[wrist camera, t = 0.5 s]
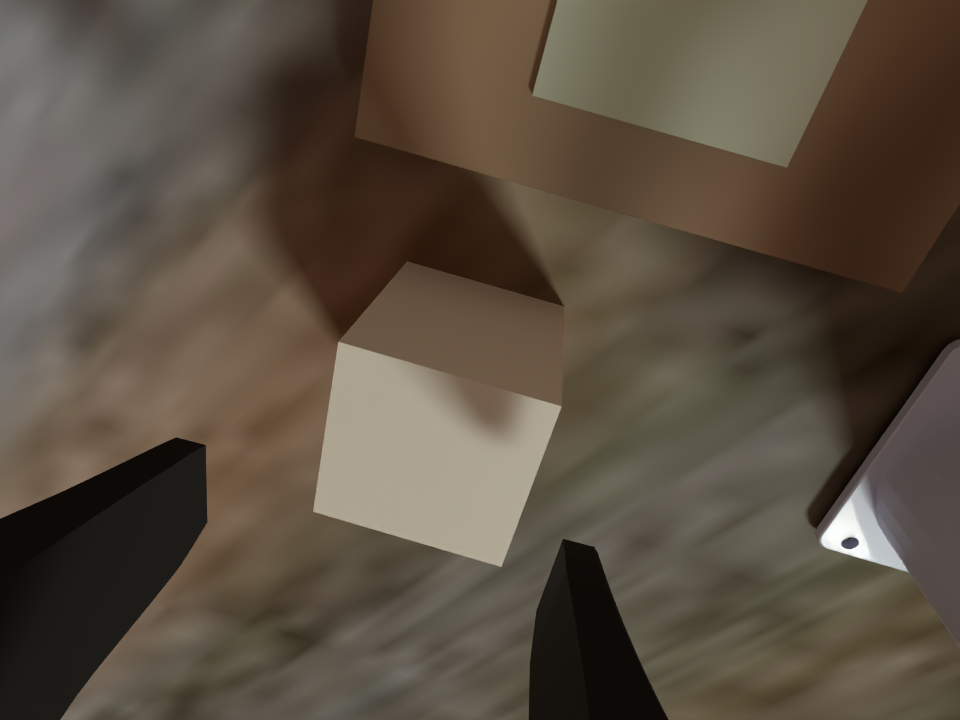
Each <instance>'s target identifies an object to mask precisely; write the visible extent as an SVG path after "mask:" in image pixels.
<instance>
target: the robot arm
mask: <svg viewBox="0 0 960 720" xmlns="http://www.w3.org/2000/svg"><path fill="white" fill-rule="evenodd" d="M206 523H207V487H206V445H203V444H199V443H195V442H192V441H188V440H184V439H180V438H174V439H172V440H169V441H167V442H165V443H163V444H161V445H159V446H156V447H154V448H152V449H150V450H148V451H146V452H144V453H142V454H140V455H138V456H136V457H134V458H132V459H130V460H128V461H126V462H123V463H121V464H119V465H117V466H115V467H113V468H111V469H109V470H107V471H105V472H103V473H101V474H99V475H97V476H94V477H92V478H90V479H88V480H86V481H84V482H82V483H80V484H78V485H75V486H73V487H71V488H69V489H67V490H65V491H63V492H61V493H58V494H56V495H54V496H52V497H49V498H47V499H45V500H42V501H40V502H38V503H35V504H33V505H31V506H29V507H26V508H24V509H22V510H19V511H17V512H15V513H12V514H10V515H8V516H5V517H3V518H1V519H0V720H60V719H61V718H62V716H63V715H64V713H65V712H66V710H67V709H68V707H69V706H70V704H71V703H72V702H73V700H74V699H75V697H76V696H77V694H78V693H79V692H80V691H81V689H82V688H83V687H84V685H85V684H86V683H87V681H88V680H89V679H90V677H91V676H92V675H93V673H94V672H95V671H96V670H97V668H98V667H99V666H100V665H101V663H102V662H103V661H104V660H105V658H106V657H107V656H108V655H109V654H110V652H111V651H112V650H113V649H114V647H115V646H116V645H117V644H118V643H119V641H120V640H121V639H122V638H123V636H124V635H125V634H126V633H127V632H128V630H129V629H130V628H131V627H132V625H133V624H134V623H135V622H136V620H137V619H138V618H139V617H140V616H141V614H142V613H143V612H144V611H145V609H146V608H147V607H148V606H149V605H150V603H151V602H152V601H153V600H154V598H155V597H156V596H157V595H158V593H159V592H160V591H161V590H162V588H163V587H164V586H165V585H166V583H167V582H168V581H169V580H170V578H171V577H172V576H173V575H174V573H175V572H176V571H177V569H178V568H179V567H180V565H181V564H182V562H183V560H184V559H185V557H186V556H187V554H188V553H189V551H190V550H191V548H192V547H193V545H194V543H195V542H196V540H197V538H198V537H199V535H200V533H201V532H202V530H203V528H204V527H205V525H206ZM815 533H816V537H817V539H818V541H819V543H820V544H821V545H822V546H823V547H825V548H827V549H830V550H834V551H837V552H841V553H844V554H848V555H851V556H854V557H858V558H861V559H865V560H868V561H872V562H875V563H879V564H882V565H885V566H889V567H892V568H896V569H899V570H903V571H906V572H909V573H910V575H911V576H912V578H913V579H914V581H915V582H916V584H917V585H918V587H919V588H920V590H921V591H922V593H923V594H924V596H925V597H926V599H927V600H928V602H929V603H930V605H931V606H932V608H933V609H934V611H935V612H936V614H937V615H938V617H939V618H940V620H941V621H942V623H943V624H944V626H945V627H946V629H947V630H948V631H949V633H950V634H951V636H952V637H953V639H954V640H955V642H956V643H957V645H958V646H959V648H960V339H959V340H955V341H954V342H952V343H950V344H948V345H947V346H946V347H945V348H944V349H943V351H942V352H941V354H940V355H939V356H938V358H937V359H936V361H935V362H934V363H933V365H932V366H931V368H930V369H929V370H928V372H927V373H926V375H925V376H924V378H923V379H922V380H921V382H920V383H919V385H918V386H917V387H916V389H915V390H914V392H913V393H912V394H911V396H910V397H909V399H908V400H907V402H906V403H905V404H904V406H903V407H902V409H901V410H900V411H899V413H898V414H897V416H896V417H895V418H894V420H893V421H892V423H891V424H890V425H889V427H888V428H887V430H886V431H885V433H884V434H883V435H882V437H881V438H880V440H879V441H878V442H877V444H876V445H875V447H874V448H873V449H872V451H871V452H870V454H869V455H868V457H867V458H866V459H865V461H864V462H863V464H862V465H861V466H860V468H859V469H858V471H857V472H856V473H855V475H854V476H853V478H852V479H851V481H850V482H849V483H848V485H847V486H846V488H845V489H844V490H843V492H842V493H841V495H840V496H839V497H838V499H837V500H836V502H835V503H834V504H833V506H832V507H831V509H830V510H829V512H828V513H827V514H826V516H825V517H824V519H823V520H822V521H821V523H820V524H819V526H818V527H817V529H816V532H815ZM849 537H852V538H851V539H850V540H846V541H843V540H844V539H845V538H849ZM529 720H668V718H667V716H666V714H665V712H664V710H663V708H662V706H661V704H660V702H659V700H658V698H657V696H656V694H655V692H654V690H653V688H652V686H651V684H650V682H649V680H648V678H647V676H646V674H645V671H644V669H643V667H642V665H641V663H640V661H639V658H638V656H637V654H636V651H635V649H634V647H633V644H632V642H631V640H630V638H629V635H628V633H627V631H626V628H625V626H624V623H623V621H622V618H621V616H620V614H619V611H618V608H617V606H616V603H615V601H614V598H613V595H612V593H611V590H610V587H609V584H608V582H607V579H606V576H605V573H604V570H603V567H602V564H601V561H600V558H599V555H598V553H597V551H596V549H595V548H594V547H592V546H588V545H584V544H581V543H577V542H573V541H569V540H565V539H563V540H562V543H561V546H560V548H559V551H558V554H557V557H556V559H555V562H554V565H553V567H552V570H551V573H550V575H549V578H548V581H547V584H546V586H545V589H544V592H543V594H542V597H541V600H540V603H539V605H538V608H537V611H536V619H535V627H534V635H533V643H532V651H531V660H530V688H529Z"/></svg>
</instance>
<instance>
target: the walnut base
mask: <svg viewBox="0 0 960 720" xmlns="http://www.w3.org/2000/svg"><path fill="white" fill-rule="evenodd" d="M354 137H356V138H359V139H363V140H366V141H370V142H373V143H377V144H381V145H384V146H388V147H391V148H395V149H398V150H402V151H405V152H409V153H412V154H416V155H419V156H423V157H426V158H430V159H433V160H437V161H440V162H444V163H447V164H451V165H454V166H458V167H461V168H465V169H468V170H472V171H475V172H479V173H482V174H486V175H489V176H493V177H496V178H500V179H503V180H507V181H510V182H514V183H517V184H521V185H524V186H528V187H531V188H535V189H538V190H542V191H545V192H549V193H552V194H556V195H559V196H563V197H566V198H570V199H573V200H577V201H580V202H584V203H587V204H591V205H594V206H598V207H601V208H605V209H608V210H612V211H615V212H619V213H622V214H626V215H629V216H633V217H636V218H640V219H643V220H647V221H650V222H654V223H657V224H661V225H664V226H668V227H671V228H675V229H678V230H682V231H685V232H689V233H693V234H696V235H700V236H703V237H707V238H710V239H714V240H717V241H721V242H724V243H728V244H731V245H735V246H738V247H742V248H745V249H749V250H752V251H756V252H759V253H763V254H766V255H770V256H773V257H777V258H780V259H784V260H787V261H791V262H794V263H798V264H801V265H805V266H808V267H812V268H815V269H819V270H822V271H826V272H829V273H833V274H836V275H840V276H843V277H847V278H850V279H854V280H857V281H861V282H864V283H868V284H871V285H875V286H878V287H882V288H885V289H889V290H892V291H896V292H899V293H903V292H904V290H905V289H906V287H907V286H908V284H909V282H910V281H911V279H912V278H913V276H914V275H915V273H916V271H917V270H918V268H919V267H920V265H921V264H922V262H923V260H924V259H925V257H926V256H927V254H928V253H929V251H930V249H931V248H932V246H933V245H934V243H935V242H936V240H937V238H938V237H939V235H940V234H941V232H942V231H943V229H944V228H945V226H946V224H947V223H948V221H949V220H950V218H951V217H952V215H953V213H954V212H955V210H956V209H957V207H958V206H959V204H960V0H373V4H372V11H371V19H370V26H369V33H368V40H367V48H366V55H365V62H364V70H363V77H362V84H361V92H360V99H359V106H358V114H357V121H356V128H355V135H354Z"/></svg>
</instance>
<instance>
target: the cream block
mask: <svg viewBox="0 0 960 720" xmlns="http://www.w3.org/2000/svg"><path fill="white" fill-rule="evenodd" d="M563 337H564V306H561V305H558V304H554V303H551V302H547V301H544V300H540V299H537V298H533V297H530V296H526V295H523V294H519V293H516V292H512V291H509V290H505V289H502V288H498V287H495V286H491V285H488V284H485V283H481V282H478V281H474V280H471V279H467V278H464V277H460V276H457V275H453V274H450V273H446V272H443V271H439V270H436V269H432V268H429V267H425V266H422V265H418V264H415V263H411V262H408V261H407V262H406V263H405V264H404V266H403V267H402V268H401V269H400V270H399V271H398V273H397V274H396V275H395V276H394V277H393V278H392V280H391V281H390V282H389V283H388V284H387V285H386V287H385V288H384V289H383V290H382V291H381V292H380V294H379V295H378V296H377V297H376V298H375V300H374V301H373V302H372V303H371V304H370V305H369V307H368V308H367V309H366V310H365V311H364V312H363V314H362V315H361V316H360V317H359V318H358V319H357V321H356V322H355V323H354V324H353V325H352V326H351V328H350V329H349V330H348V331H347V332H346V333H345V335H344V336H343V337H342V338H341V339H340V340H339V342H338V348H337V355H336V361H335V368H334V375H333V382H332V388H331V395H330V402H329V409H328V415H327V422H326V429H325V436H324V442H323V449H322V456H321V463H320V469H319V476H318V483H317V490H316V496H315V503H314V510H313V512H316V513H319V514H323V515H326V516H330V517H333V518H337V519H340V520H343V521H347V522H350V523H354V524H357V525H360V526H364V527H367V528H371V529H374V530H377V531H381V532H384V533H388V534H391V535H395V536H398V537H401V538H405V539H408V540H412V541H415V542H418V543H422V544H425V545H429V546H432V547H435V548H439V549H442V550H446V551H449V552H453V553H456V554H459V555H463V556H466V557H470V558H473V559H476V560H480V561H483V562H487V563H490V564H493V565H497V566H500V567H502V564H503V561H504V559H505V556H506V553H507V551H508V548H509V545H510V543H511V540H512V537H513V535H514V532H515V529H516V527H517V524H518V521H519V519H520V516H521V513H522V511H523V508H524V505H525V503H526V500H527V497H528V495H529V492H530V489H531V487H532V484H533V481H534V479H535V476H536V473H537V471H538V468H539V465H540V463H541V460H542V457H543V455H544V452H545V449H546V447H547V444H548V441H549V439H550V436H551V433H552V431H553V428H554V425H555V423H556V420H557V417H558V415H559V412H560V409H561V407H562V374H563Z"/></svg>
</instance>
